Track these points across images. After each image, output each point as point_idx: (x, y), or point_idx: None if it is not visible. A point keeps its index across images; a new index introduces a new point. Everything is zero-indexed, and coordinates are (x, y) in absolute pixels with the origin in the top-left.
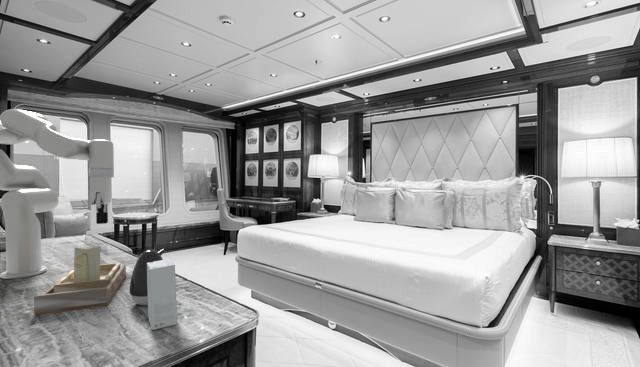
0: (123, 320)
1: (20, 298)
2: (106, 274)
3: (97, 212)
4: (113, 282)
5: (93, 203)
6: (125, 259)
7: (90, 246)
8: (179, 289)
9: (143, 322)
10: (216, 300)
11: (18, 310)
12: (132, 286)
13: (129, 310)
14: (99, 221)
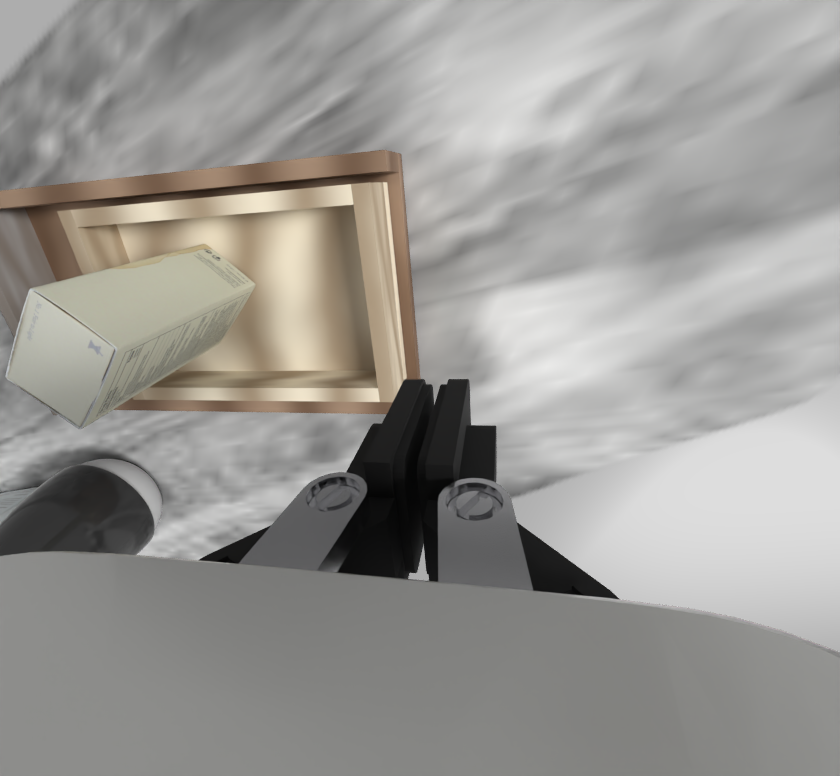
0: (28, 440)
1: (171, 2)
2: (357, 334)
3: (315, 493)
4: (157, 409)
5: (281, 589)
6: (826, 329)
7: (72, 377)
8: (223, 546)
9: (25, 477)
10: None
11: (51, 98)
12: (34, 490)
13: (80, 445)
14: (377, 426)
